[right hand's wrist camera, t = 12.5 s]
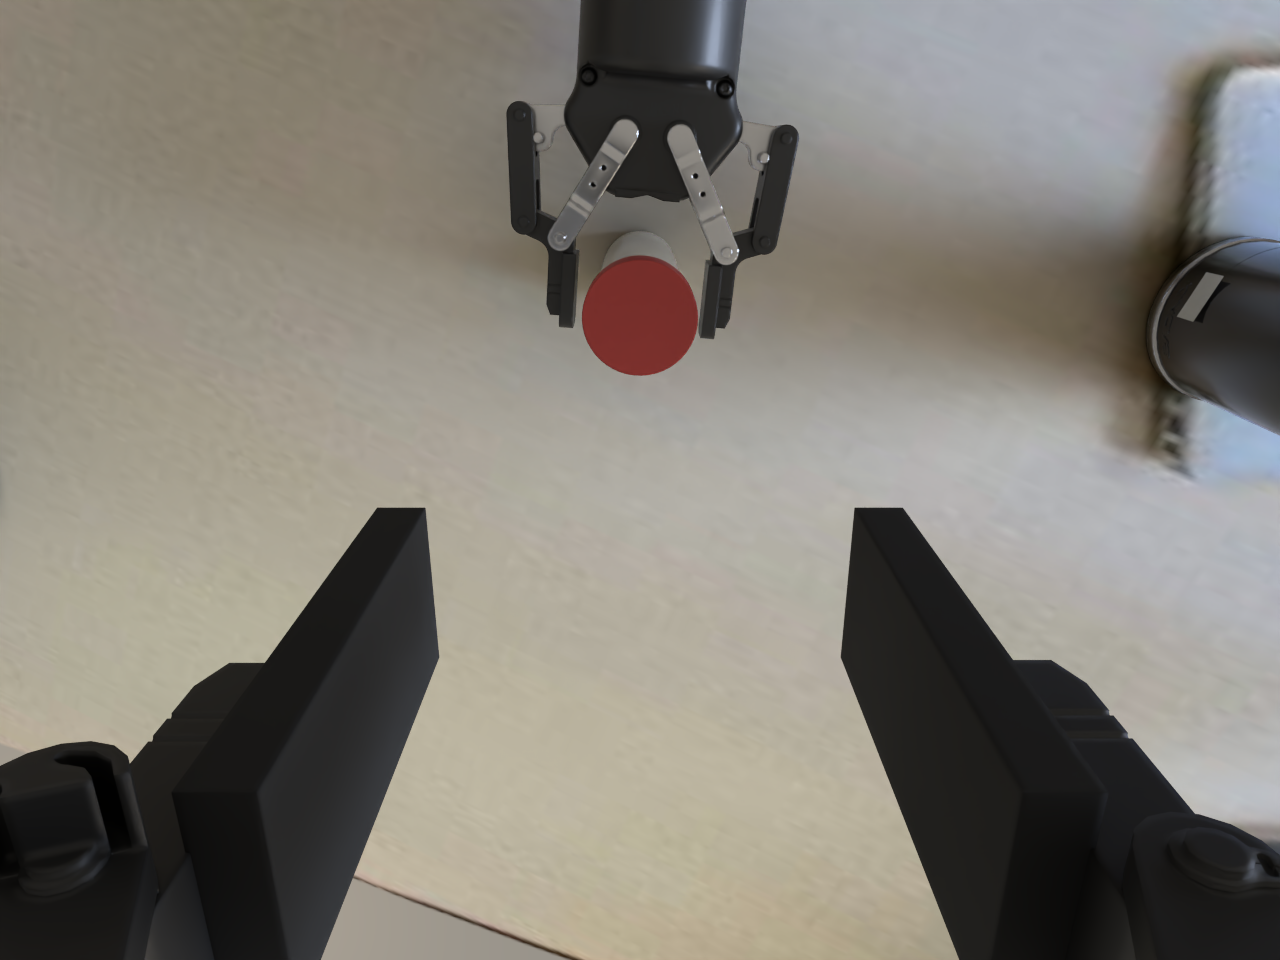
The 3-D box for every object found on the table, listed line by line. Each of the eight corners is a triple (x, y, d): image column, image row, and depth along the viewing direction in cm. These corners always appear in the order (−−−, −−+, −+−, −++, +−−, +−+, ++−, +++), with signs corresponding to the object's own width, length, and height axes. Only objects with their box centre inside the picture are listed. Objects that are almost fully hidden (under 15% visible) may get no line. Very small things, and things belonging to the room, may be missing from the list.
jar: (596, 296, 51) (579, 354, 37) (612, 222, 50) (601, 254, 36) (666, 313, 52) (676, 377, 37) (684, 241, 50) (702, 278, 36)
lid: (573, 352, 38) (571, 361, 37) (597, 243, 37) (595, 247, 35) (680, 377, 39) (681, 387, 37) (708, 270, 37) (711, 275, 36)
